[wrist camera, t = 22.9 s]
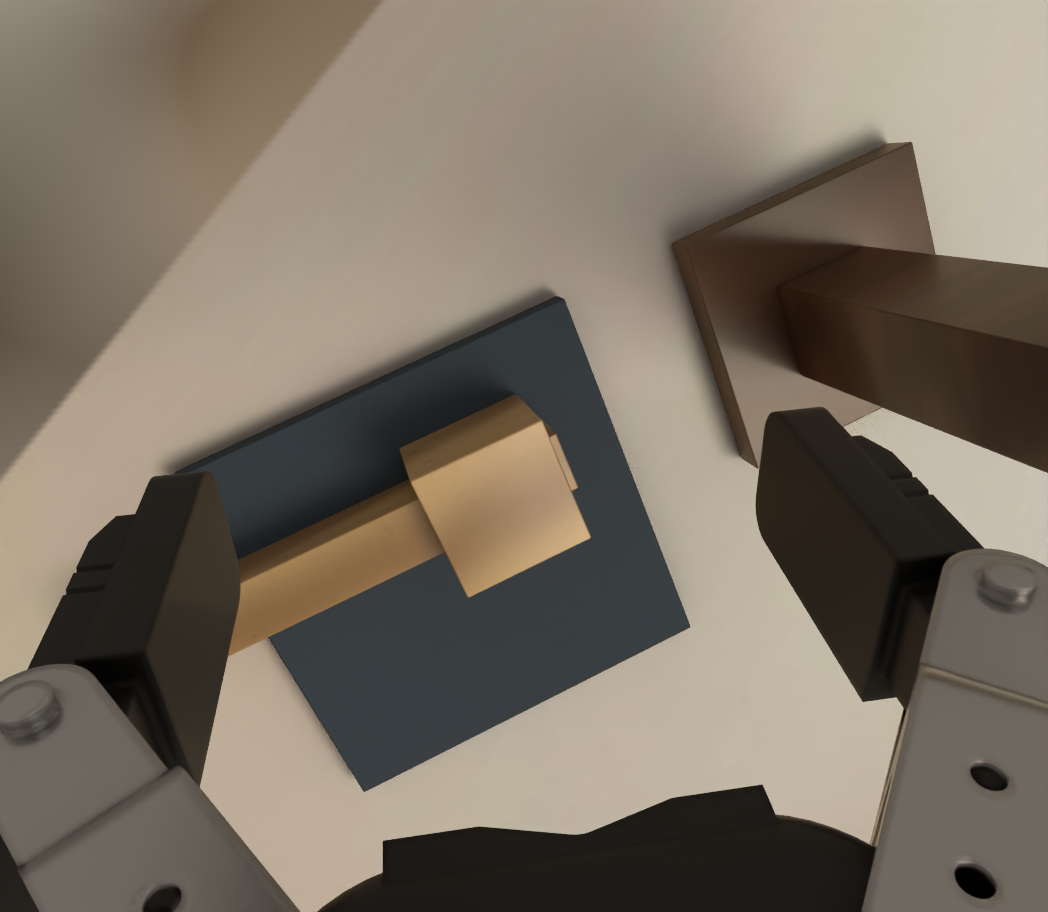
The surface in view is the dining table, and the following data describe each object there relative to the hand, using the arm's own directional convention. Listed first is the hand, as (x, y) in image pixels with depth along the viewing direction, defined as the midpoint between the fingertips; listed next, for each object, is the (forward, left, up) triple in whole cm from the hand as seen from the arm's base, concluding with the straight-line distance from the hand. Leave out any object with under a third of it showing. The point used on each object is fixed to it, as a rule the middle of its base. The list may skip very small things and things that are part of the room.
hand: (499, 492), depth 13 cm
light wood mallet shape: (+8, -5, -20) cm, 22 cm away
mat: (+11, -2, -21) cm, 24 cm away
